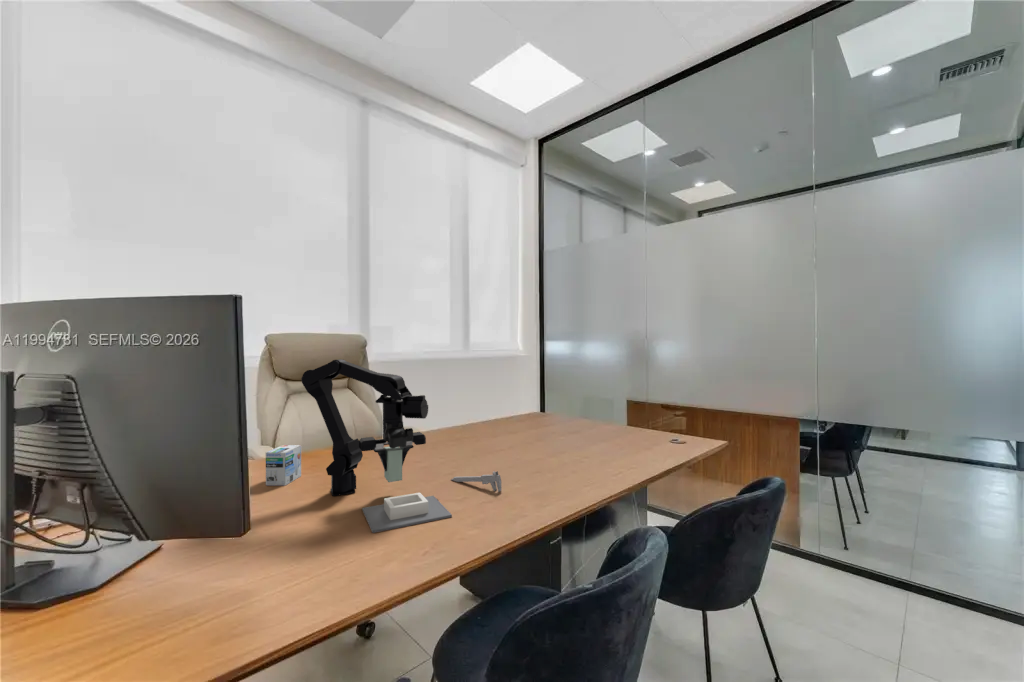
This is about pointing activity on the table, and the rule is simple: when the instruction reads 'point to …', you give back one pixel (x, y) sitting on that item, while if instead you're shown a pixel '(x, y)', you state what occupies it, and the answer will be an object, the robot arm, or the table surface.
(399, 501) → the socket tray
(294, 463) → the light bulb box
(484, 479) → the caliper
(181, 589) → the table surface
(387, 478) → the key block
